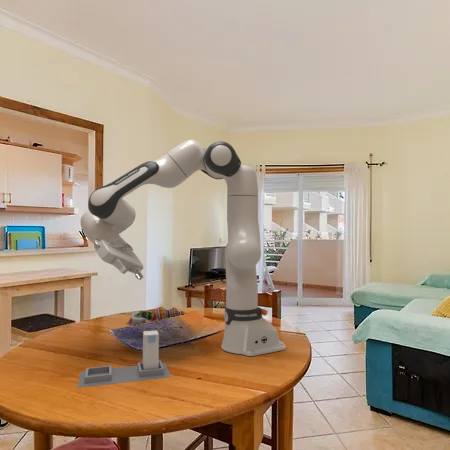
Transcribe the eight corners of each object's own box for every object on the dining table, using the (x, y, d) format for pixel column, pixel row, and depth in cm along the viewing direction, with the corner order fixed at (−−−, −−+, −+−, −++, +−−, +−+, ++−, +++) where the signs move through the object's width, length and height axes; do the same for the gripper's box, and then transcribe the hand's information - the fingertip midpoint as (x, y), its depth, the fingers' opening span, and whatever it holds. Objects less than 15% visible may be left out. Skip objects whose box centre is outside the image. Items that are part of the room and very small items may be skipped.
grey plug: (156, 368, 107) (157, 330, 107) (158, 374, 102) (159, 334, 102) (142, 369, 105) (143, 331, 106) (144, 375, 101) (144, 335, 101)
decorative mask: (125, 303, 168) (189, 300, 177) (124, 319, 167) (189, 315, 177) (127, 315, 145) (200, 311, 154) (127, 333, 145) (200, 328, 154)
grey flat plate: (165, 364, 111) (165, 357, 111) (171, 378, 100) (171, 370, 100) (80, 373, 103) (80, 365, 103) (77, 390, 93) (77, 381, 93)
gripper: (98, 229, 112) (121, 259, 105) (134, 248, 130) (155, 274, 124) (84, 244, 112) (106, 275, 105) (121, 260, 130) (142, 287, 124)
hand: (133, 275), depth 115 cm, fingers open, 8 cm apart
